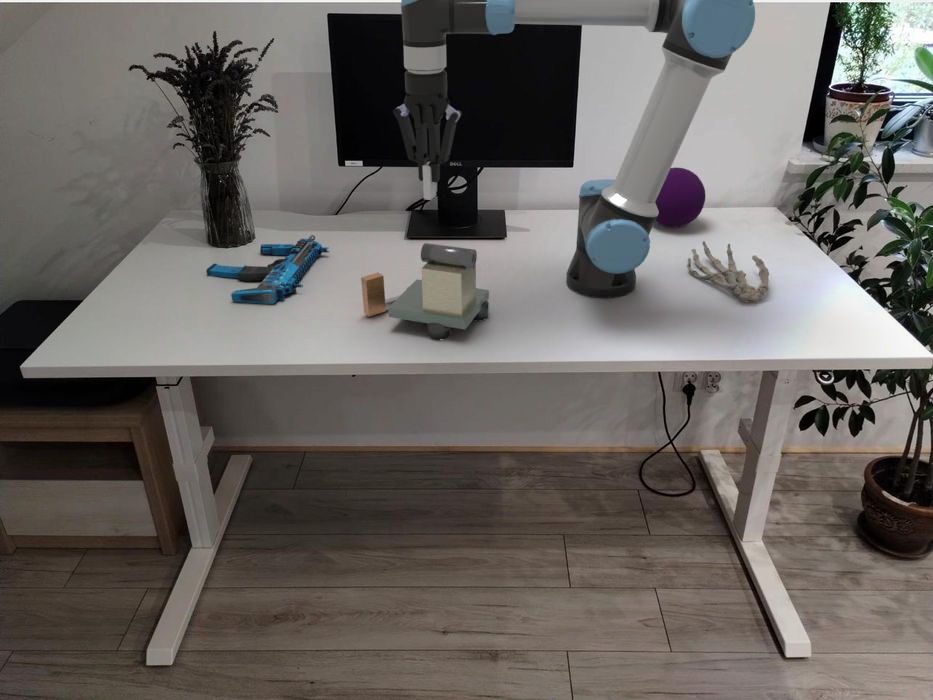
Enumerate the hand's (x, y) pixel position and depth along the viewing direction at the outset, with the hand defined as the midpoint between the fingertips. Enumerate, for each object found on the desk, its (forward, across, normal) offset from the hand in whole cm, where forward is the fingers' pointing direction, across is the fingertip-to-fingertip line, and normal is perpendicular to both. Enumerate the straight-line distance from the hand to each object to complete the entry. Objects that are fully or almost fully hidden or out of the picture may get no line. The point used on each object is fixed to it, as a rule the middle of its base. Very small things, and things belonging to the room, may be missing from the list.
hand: (430, 197), depth 152 cm
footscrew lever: (+24, +8, +1) cm, 25 cm away
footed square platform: (+24, -3, +4) cm, 25 cm away
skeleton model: (+25, -56, -35) cm, 71 cm away
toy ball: (+25, -40, -65) cm, 80 cm away
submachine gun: (+25, +44, -6) cm, 51 cm away
